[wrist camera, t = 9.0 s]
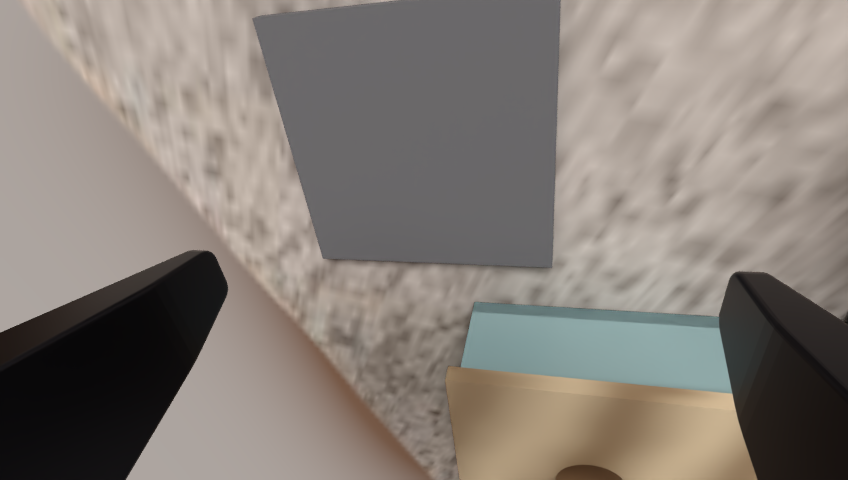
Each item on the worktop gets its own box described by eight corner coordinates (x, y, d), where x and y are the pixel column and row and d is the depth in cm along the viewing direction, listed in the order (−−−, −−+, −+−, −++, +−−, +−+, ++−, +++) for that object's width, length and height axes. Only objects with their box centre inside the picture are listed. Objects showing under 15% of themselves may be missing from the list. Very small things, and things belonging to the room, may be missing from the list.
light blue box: (724, 317, 23) (759, 404, 19) (680, 461, 29) (700, 549, 25) (474, 302, 26) (458, 374, 22) (486, 435, 32) (475, 510, 28)
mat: (560, -18, 16) (560, -16, 16) (552, 260, 23) (552, 267, 22) (259, 15, 20) (252, 18, 19) (327, 252, 26) (323, 258, 26)
